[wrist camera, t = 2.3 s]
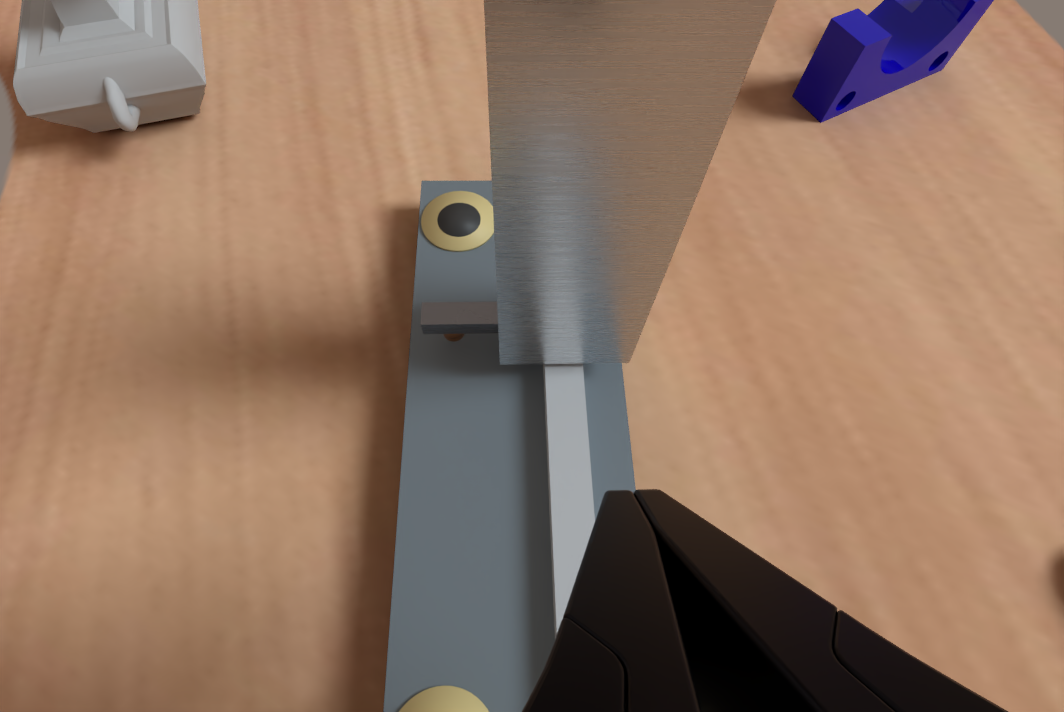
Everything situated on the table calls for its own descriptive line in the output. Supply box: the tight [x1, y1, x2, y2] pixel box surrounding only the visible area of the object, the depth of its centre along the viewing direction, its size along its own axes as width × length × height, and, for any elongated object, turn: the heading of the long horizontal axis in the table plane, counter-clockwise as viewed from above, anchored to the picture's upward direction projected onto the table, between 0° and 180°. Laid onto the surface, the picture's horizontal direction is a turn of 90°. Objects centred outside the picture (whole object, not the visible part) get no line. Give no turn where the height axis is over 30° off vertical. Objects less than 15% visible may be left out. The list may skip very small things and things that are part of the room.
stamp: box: [13, 0, 206, 133], centre depth 23 cm, size 9×7×8 cm
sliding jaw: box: [421, 0, 776, 365], centre depth 14 cm, size 3×6×13 cm, turn 92°
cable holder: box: [793, 0, 993, 123], centre depth 27 cm, size 8×4×4 cm, turn 119°
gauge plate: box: [383, 181, 636, 712], centre depth 18 cm, size 20×7×3 cm, turn 2°
